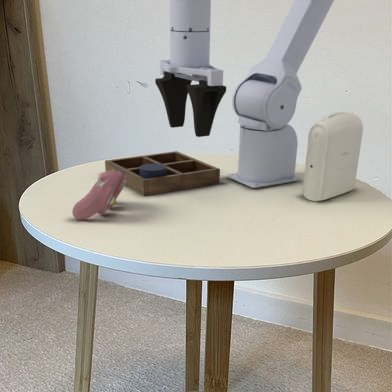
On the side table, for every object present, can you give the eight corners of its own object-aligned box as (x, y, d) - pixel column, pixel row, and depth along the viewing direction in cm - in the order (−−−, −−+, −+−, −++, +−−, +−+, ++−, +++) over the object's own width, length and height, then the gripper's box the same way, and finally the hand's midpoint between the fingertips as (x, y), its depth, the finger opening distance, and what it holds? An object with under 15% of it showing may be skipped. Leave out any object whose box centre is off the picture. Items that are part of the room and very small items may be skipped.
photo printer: (319, 203, 92) (330, 119, 86) (297, 197, 95) (306, 114, 88) (357, 191, 98) (370, 111, 92) (336, 185, 101) (346, 107, 94)
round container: (158, 177, 101) (158, 162, 100) (171, 184, 98) (171, 168, 97) (135, 181, 99) (134, 165, 98) (147, 188, 96) (147, 171, 95)
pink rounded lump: (97, 233, 84) (115, 190, 80) (68, 216, 84) (85, 173, 80) (118, 211, 92) (136, 171, 89) (92, 196, 92) (109, 156, 88)
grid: (176, 164, 111) (176, 151, 110) (219, 183, 101) (220, 168, 100) (105, 174, 105) (104, 160, 104) (144, 195, 94) (143, 180, 93)
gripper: (141, 28, 88) (143, 125, 95) (192, 34, 77) (191, 143, 85) (182, 27, 91) (182, 121, 98) (237, 33, 81) (232, 138, 88)
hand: (189, 131), depth 92 cm, fingers open, 7 cm apart
